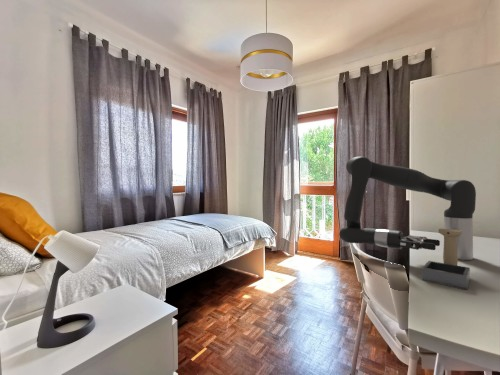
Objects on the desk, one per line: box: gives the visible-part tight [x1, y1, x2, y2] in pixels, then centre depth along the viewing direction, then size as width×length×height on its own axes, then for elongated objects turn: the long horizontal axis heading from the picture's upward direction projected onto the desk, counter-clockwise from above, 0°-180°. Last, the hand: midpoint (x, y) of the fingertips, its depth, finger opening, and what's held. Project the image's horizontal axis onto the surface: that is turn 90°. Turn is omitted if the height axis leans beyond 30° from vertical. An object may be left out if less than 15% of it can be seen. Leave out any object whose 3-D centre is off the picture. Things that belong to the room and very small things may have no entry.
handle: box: [438, 228, 462, 266], centre depth 84 cm, size 5×6×15 cm
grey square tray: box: [421, 260, 471, 291], centre depth 77 cm, size 11×11×4 cm
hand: (437, 245), depth 87 cm, fingers open, 8 cm apart
